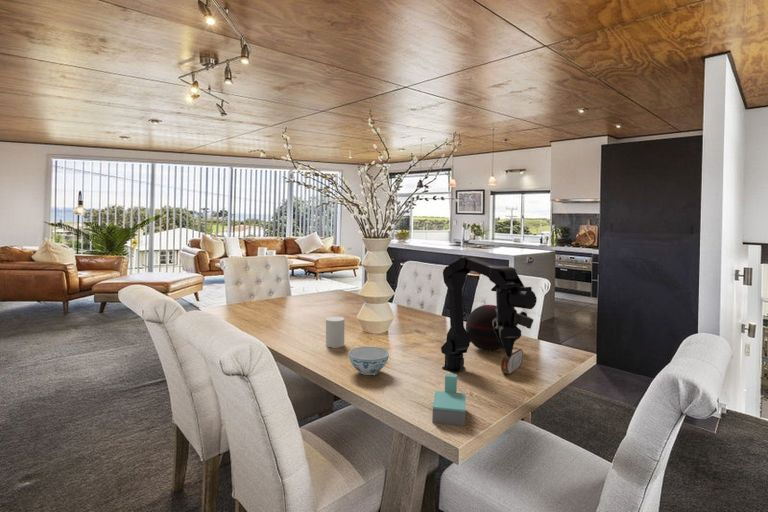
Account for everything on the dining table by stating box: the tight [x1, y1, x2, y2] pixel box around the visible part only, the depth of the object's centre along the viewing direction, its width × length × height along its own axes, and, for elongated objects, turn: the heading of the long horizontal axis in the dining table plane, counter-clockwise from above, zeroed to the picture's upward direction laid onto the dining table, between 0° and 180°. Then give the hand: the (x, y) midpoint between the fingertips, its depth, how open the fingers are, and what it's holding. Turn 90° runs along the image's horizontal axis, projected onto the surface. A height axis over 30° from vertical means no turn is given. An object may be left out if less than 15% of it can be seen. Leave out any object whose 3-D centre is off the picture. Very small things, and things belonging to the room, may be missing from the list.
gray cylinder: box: [325, 316, 345, 349], centre depth 191 cm, size 8×8×12 cm
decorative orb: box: [465, 304, 503, 352], centre depth 187 cm, size 20×20×20 cm
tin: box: [500, 346, 524, 375], centre depth 163 cm, size 15×3×8 cm, turn 141°
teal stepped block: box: [432, 373, 467, 413], centre depth 126 cm, size 14×9×10 cm, turn 169°
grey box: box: [431, 408, 466, 427], centre depth 125 cm, size 10×9×4 cm
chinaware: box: [348, 345, 390, 376], centre depth 159 cm, size 15×15×8 cm
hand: (506, 353), depth 142 cm, fingers open, 9 cm apart
